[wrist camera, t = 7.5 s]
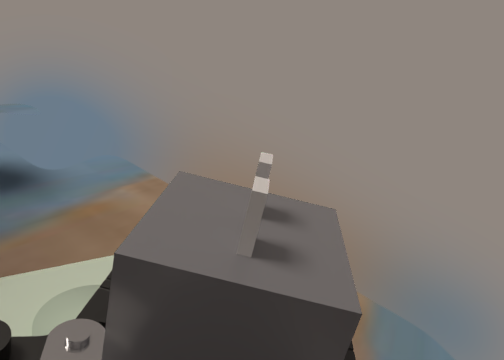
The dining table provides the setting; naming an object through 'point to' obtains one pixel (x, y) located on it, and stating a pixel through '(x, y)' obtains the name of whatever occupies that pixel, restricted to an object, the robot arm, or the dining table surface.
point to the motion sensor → (50, 295)
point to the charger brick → (231, 277)
